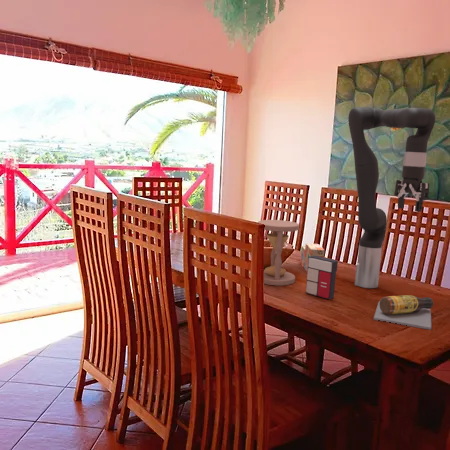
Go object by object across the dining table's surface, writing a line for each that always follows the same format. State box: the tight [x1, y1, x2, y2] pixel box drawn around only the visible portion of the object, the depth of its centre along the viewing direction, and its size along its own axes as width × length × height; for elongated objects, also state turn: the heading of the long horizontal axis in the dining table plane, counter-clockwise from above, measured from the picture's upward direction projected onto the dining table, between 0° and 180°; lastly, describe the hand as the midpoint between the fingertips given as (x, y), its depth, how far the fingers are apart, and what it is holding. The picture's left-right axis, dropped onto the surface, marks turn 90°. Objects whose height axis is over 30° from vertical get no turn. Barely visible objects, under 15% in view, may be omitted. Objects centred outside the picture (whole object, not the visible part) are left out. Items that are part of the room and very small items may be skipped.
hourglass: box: [257, 219, 300, 287], centre depth 199 cm, size 18×18×25 cm
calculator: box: [305, 255, 339, 300], centre depth 180 cm, size 11×4×15 cm, turn 47°
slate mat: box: [373, 300, 432, 331], centre depth 163 cm, size 18×20×1 cm
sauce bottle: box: [379, 294, 434, 315], centre depth 163 cm, size 6×6×20 cm
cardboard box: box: [300, 243, 325, 272], centre depth 221 cm, size 21×6×12 cm, turn 2°
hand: (409, 209), depth 169 cm, fingers open, 8 cm apart
